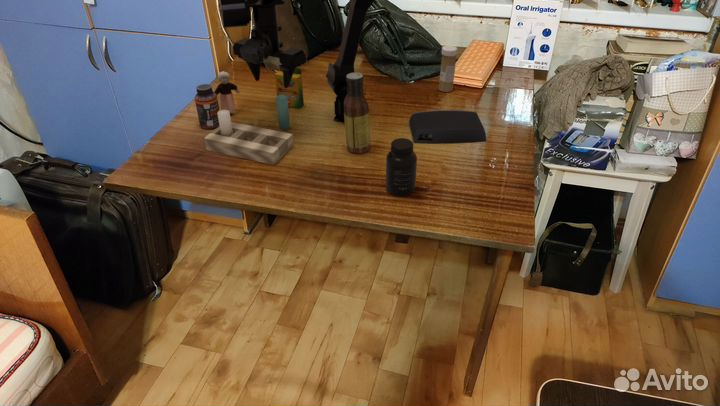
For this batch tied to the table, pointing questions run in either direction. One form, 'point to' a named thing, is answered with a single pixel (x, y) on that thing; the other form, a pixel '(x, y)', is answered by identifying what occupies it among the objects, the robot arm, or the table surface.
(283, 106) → the teal peg
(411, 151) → the supplement bottle
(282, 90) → the crayon box
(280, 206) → the table surface
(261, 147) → the hole block
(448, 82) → the sprinkles bottle
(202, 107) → the supplement bottle
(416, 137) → the external hard drive
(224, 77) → the grandmother figurine
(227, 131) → the cream peg
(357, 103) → the sauce bottle
